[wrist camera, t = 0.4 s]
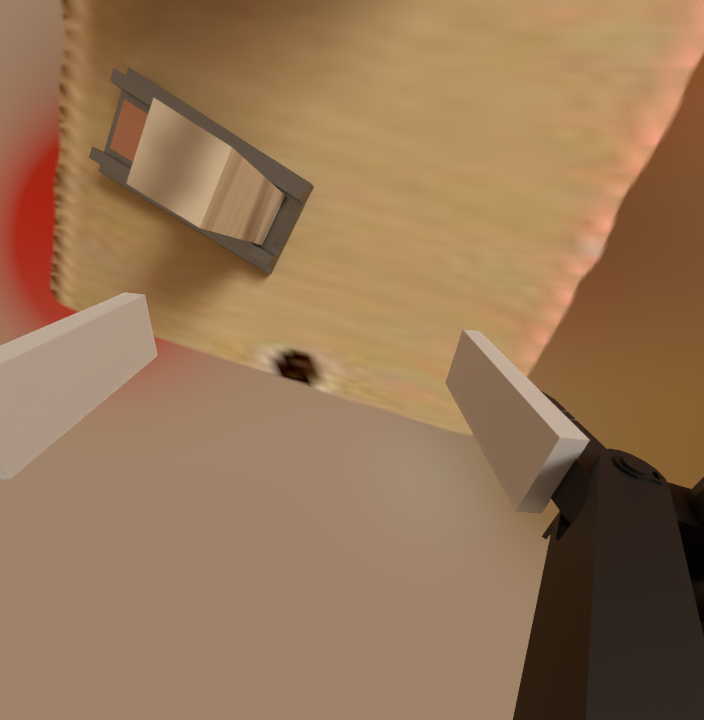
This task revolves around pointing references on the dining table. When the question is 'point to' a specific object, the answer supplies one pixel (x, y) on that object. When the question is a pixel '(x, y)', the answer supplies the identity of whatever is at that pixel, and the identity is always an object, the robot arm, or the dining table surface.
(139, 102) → the guide track
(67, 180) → the dining table surface
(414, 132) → the dining table surface
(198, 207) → the birch block
